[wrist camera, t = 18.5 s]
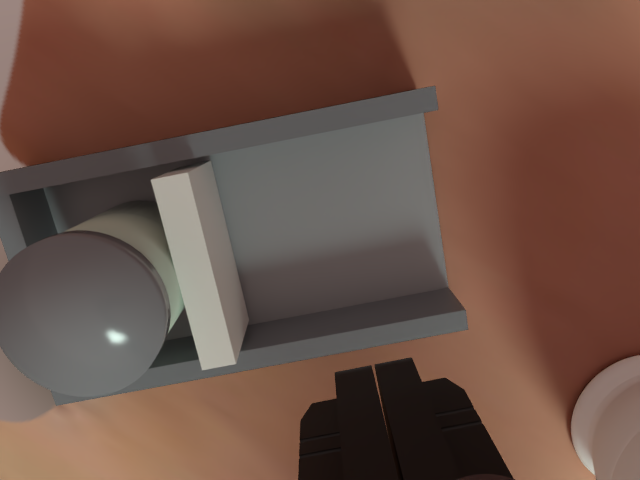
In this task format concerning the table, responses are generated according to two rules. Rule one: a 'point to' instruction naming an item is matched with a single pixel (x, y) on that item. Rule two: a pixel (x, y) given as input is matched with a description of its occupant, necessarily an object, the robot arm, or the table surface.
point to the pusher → (203, 261)
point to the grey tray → (282, 228)
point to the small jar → (91, 302)
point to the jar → (610, 422)
